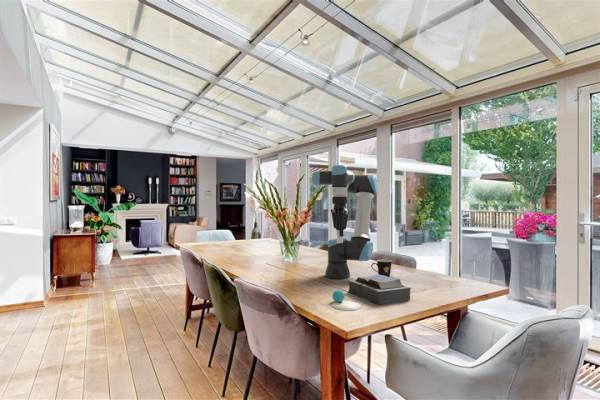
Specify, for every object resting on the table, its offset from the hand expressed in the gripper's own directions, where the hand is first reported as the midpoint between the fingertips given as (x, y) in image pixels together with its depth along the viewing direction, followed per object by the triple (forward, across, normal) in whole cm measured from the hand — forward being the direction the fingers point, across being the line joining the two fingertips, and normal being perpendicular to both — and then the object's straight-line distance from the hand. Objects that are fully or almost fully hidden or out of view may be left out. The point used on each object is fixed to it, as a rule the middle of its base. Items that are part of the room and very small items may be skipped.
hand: (339, 242), depth 176 cm
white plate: (+25, +19, -11) cm, 33 cm away
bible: (+26, +14, +12) cm, 32 cm away
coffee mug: (+26, -15, +42) cm, 52 cm away
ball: (+22, +13, -10) cm, 28 cm away
